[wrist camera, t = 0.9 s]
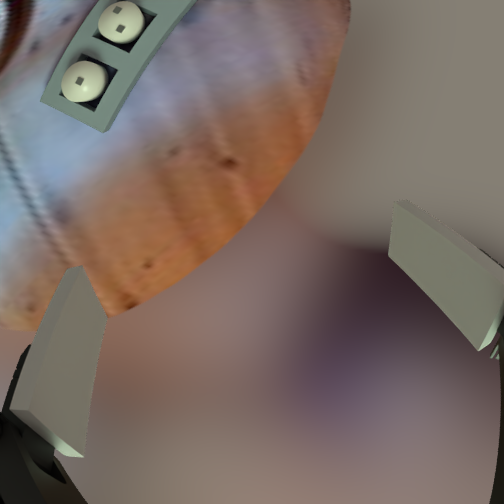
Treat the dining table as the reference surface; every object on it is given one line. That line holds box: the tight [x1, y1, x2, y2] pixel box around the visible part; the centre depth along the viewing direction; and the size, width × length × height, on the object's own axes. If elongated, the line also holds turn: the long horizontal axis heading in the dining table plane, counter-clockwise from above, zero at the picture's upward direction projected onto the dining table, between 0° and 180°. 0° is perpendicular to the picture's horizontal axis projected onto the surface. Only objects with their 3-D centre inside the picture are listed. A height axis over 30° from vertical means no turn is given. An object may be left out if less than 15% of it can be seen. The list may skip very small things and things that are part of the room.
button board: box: [40, 0, 197, 133], centre depth 22 cm, size 9×22×2 cm, turn 145°
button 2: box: [98, 1, 145, 44], centre depth 20 cm, size 4×4×3 cm
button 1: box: [61, 61, 108, 102], centre depth 23 cm, size 4×4×3 cm
